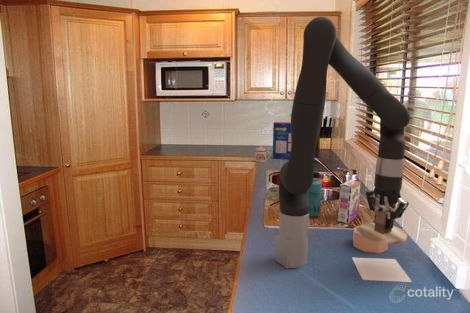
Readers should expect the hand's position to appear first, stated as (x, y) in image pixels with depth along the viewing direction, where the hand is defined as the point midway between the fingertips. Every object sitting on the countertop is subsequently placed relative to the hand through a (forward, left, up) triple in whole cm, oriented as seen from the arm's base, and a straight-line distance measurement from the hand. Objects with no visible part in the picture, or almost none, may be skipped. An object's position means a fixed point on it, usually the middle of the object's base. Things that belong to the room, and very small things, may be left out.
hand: (383, 227), depth 110 cm
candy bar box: (+25, +36, -15) cm, 46 cm away
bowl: (+11, +13, -14) cm, 22 cm away
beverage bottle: (+14, +46, -14) cm, 50 cm away
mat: (0, 0, -14) cm, 14 cm away
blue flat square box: (+87, +152, -15) cm, 176 cm away
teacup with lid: (+62, +154, -15) cm, 166 cm away
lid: (0, 0, -2) cm, 2 cm away
